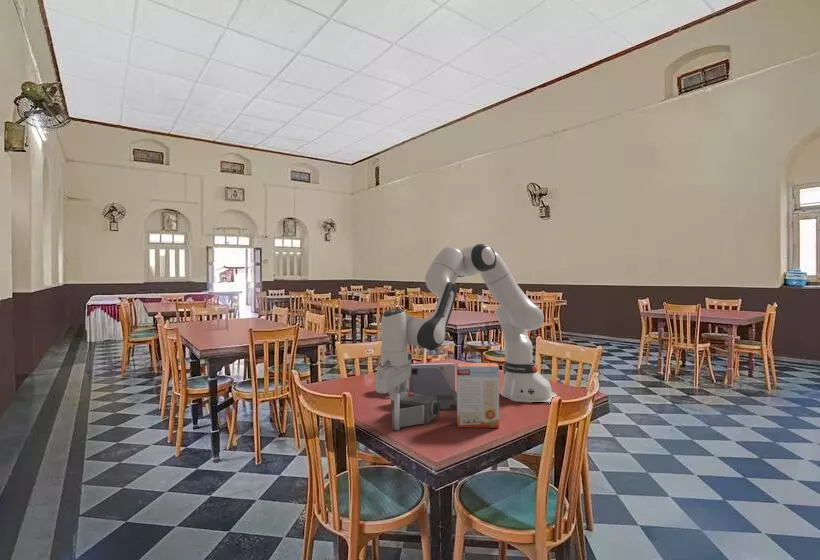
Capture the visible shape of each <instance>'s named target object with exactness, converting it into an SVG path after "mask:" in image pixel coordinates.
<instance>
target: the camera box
mask: <svg viewBox="0 0 820 560" xmlns="http://www.w3.org/2000/svg"><path fill="white" fill-rule="evenodd" d="M399 394H400V409H402V408H409V407H415V406H421V405H424V424H429V423H431V422H432V420H434V419H435V418H436V417H437V416H438V415H440V412H441V409H440V403H439V402H437V396H431V395H423V394H414V393H413V392H409V393H406V392H401V393H399ZM390 403H391V404H390V418H391V419H392V410H394V401H393V400H390Z"/></svg>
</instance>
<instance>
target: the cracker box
mask: <svg viewBox="0 0 820 560" xmlns="http://www.w3.org/2000/svg"><path fill="white" fill-rule="evenodd" d="M499 370H500V366H499V365H498V364H497V363H495V362H492V363H490V362H475V363H474V362H457V363H456V393H457V409H456V423H457V424H456V425H457V428H484V429H485V428H486V429H487V428H488V429H489V428H491V429H494V428H495V429H499V428H500V376H499V375H500V371H499Z"/></svg>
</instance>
